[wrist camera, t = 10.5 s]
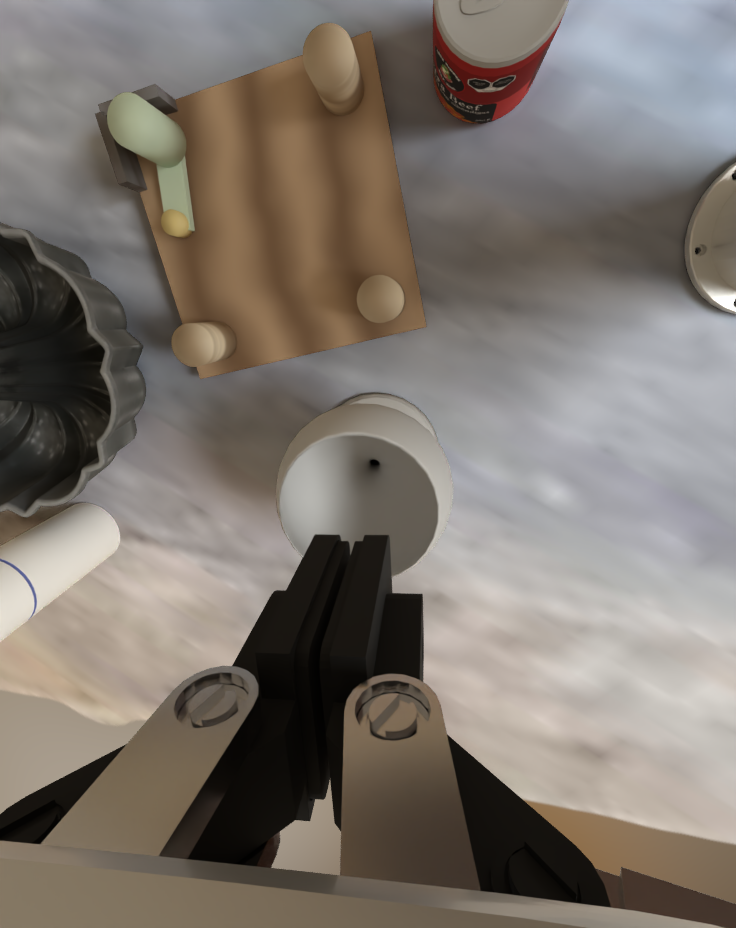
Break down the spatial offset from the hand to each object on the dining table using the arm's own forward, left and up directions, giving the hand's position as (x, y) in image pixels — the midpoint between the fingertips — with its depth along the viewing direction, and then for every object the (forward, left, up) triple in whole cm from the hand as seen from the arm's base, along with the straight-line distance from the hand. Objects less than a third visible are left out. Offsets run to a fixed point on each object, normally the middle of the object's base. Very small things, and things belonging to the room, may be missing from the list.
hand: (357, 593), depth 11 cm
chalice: (+5, +7, -37) cm, 38 cm away
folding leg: (+16, -20, -35) cm, 44 cm away
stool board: (+9, -15, -37) cm, 41 cm away
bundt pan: (+36, -9, -37) cm, 53 cm away
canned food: (-10, -22, -37) cm, 44 cm away
